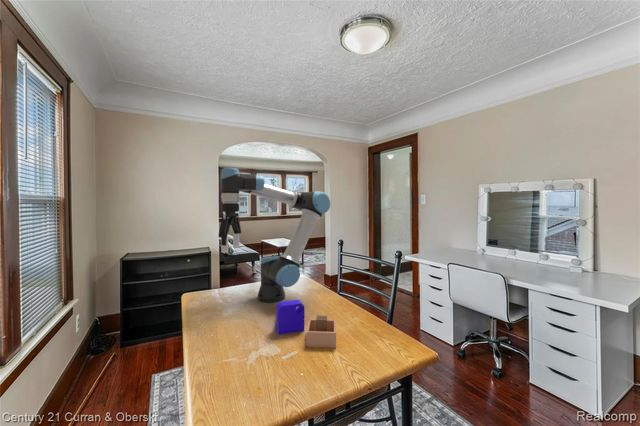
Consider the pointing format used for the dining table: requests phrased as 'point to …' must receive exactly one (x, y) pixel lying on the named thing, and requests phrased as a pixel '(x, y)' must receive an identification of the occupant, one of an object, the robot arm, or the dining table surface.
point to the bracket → (290, 317)
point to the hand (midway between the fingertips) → (230, 250)
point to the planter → (321, 335)
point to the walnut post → (321, 323)
